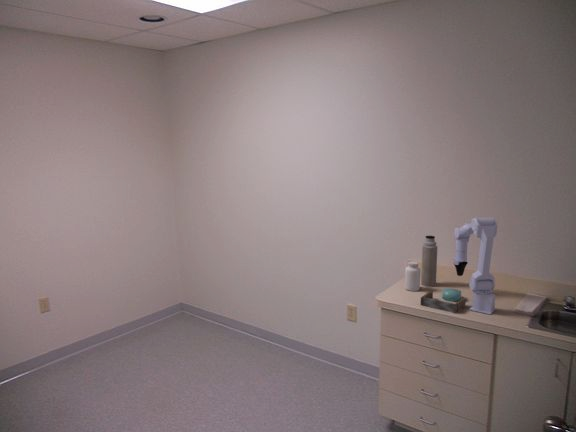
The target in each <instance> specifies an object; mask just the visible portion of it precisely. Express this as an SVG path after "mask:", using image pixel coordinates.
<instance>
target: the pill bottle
mask: <svg viewBox="0 0 576 432" xmlns="http://www.w3.org/2000/svg"><path fill="white" fill-rule="evenodd" d="M404 274H405V275H404V289H405V290H406V291H409V292H419V291H420V288H421V268H420V267H419V262H417V261H409V262H408V263H407V266H406V267H405V271H404Z"/></svg>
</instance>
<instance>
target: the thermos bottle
mask: <svg viewBox="0 0 576 432" xmlns="http://www.w3.org/2000/svg"><path fill="white" fill-rule="evenodd" d="M421 247H422V248H421V249H422V250H421V251H422V252H421V273H420V286H421V285H422V286H423V287H429V288H432V287H436V285H437V270H438V269H437V264H438V245H437V242H436V239H435V236H434V235H426V236H425V240H424V241H423V245H422V246H421Z"/></svg>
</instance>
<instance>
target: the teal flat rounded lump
mask: <svg viewBox="0 0 576 432" xmlns="http://www.w3.org/2000/svg"><path fill="white" fill-rule="evenodd" d="M441 295H442V296H441V298H442V299H443V301H446V302H451V303H455V302H456V303H457V302H458V301H459V300H461V299H462V291H461V290H459V289H455V288H449V287H448V288H443V289H442V294H441Z"/></svg>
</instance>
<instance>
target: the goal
mask: <svg viewBox="0 0 576 432" xmlns="http://www.w3.org/2000/svg"><path fill="white" fill-rule="evenodd" d="M466 302H467V300H466V297H461V300H459V301H458V302H456V303H454V302H450V301H445V300H438V299H434V291H432V290H430V291H428V292H426V293H425V294H424V295H422V296H420V306H422V307H426V308H427V307H428V308H431V309H435V310H440V311H444V312H449V313H453V314H458V313H459V312H460V311H461V310H462V309H463V308H465V306H466Z"/></svg>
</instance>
